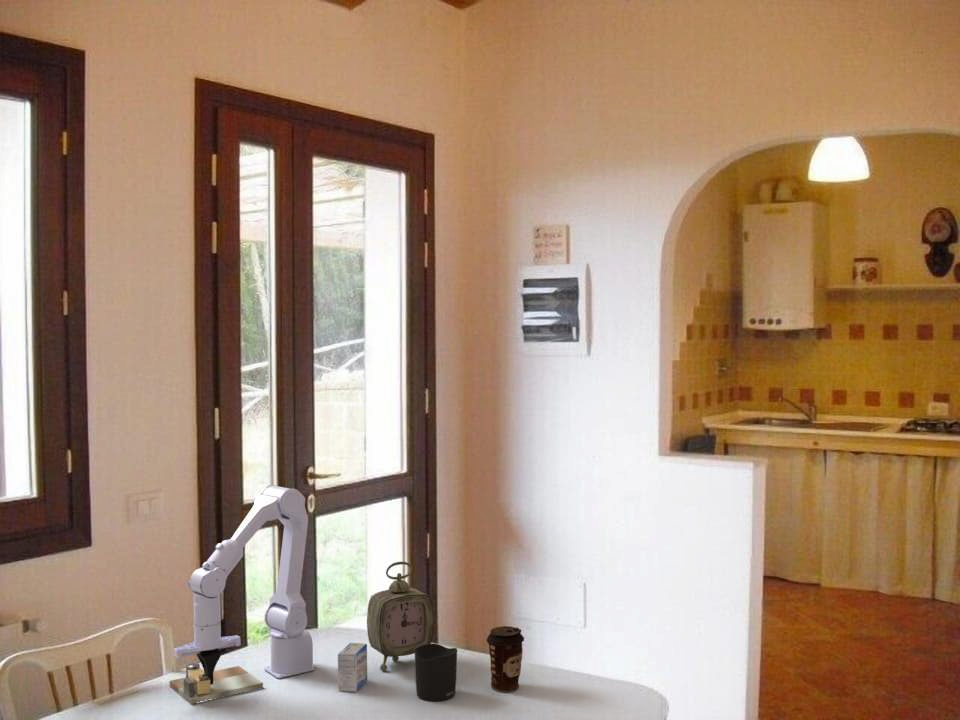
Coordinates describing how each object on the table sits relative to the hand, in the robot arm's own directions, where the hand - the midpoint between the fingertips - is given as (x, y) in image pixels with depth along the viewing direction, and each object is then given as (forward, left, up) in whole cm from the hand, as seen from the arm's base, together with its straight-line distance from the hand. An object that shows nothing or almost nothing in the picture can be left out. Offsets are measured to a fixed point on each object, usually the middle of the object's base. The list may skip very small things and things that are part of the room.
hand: (208, 683), depth 211 cm
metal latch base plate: (-3, -3, -2) cm, 5 cm away
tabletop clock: (-44, +9, -3) cm, 45 cm away
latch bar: (+2, -2, -1) cm, 3 cm away
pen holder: (-40, +31, -3) cm, 51 cm away
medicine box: (-28, +15, -3) cm, 32 cm away
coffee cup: (-55, +37, -3) cm, 66 cm away
